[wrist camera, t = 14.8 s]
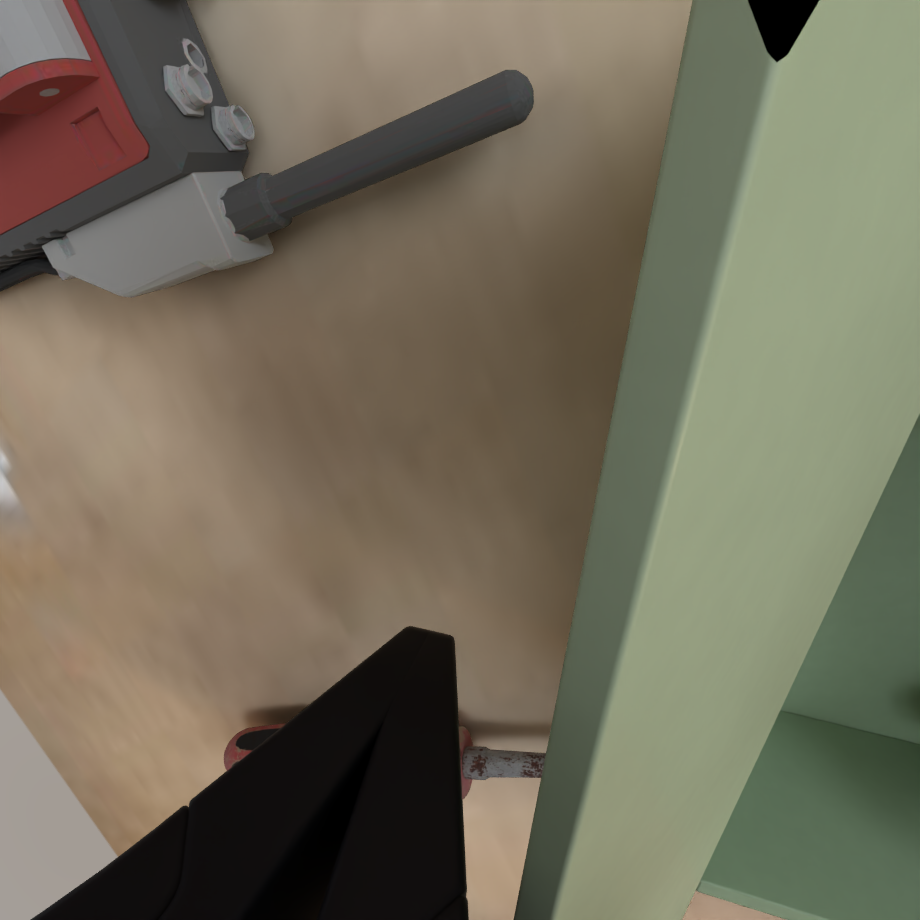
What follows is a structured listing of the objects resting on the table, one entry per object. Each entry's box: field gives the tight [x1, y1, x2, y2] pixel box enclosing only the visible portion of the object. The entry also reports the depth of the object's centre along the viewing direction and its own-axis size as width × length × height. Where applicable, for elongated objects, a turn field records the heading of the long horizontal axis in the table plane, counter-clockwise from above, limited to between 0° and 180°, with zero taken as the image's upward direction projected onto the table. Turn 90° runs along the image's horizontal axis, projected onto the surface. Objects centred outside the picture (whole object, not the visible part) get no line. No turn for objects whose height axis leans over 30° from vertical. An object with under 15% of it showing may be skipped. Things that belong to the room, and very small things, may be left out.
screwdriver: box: [224, 723, 546, 799], centre depth 22 cm, size 25×3×3 cm, turn 108°
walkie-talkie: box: [0, 0, 534, 298], centre depth 14 cm, size 9×4×20 cm
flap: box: [514, 0, 920, 920], centre depth 7 cm, size 19×7×1 cm
